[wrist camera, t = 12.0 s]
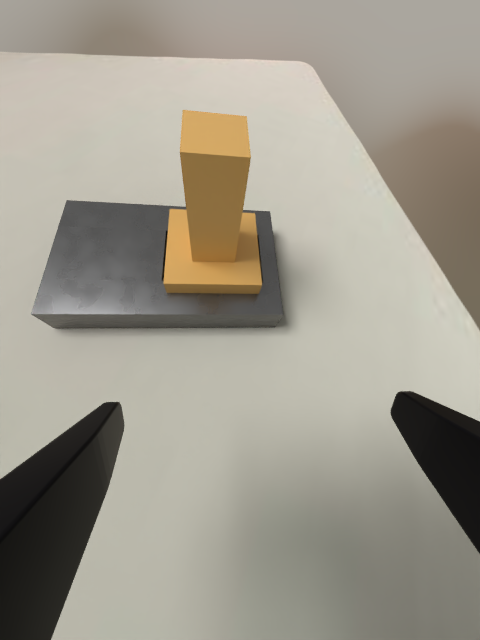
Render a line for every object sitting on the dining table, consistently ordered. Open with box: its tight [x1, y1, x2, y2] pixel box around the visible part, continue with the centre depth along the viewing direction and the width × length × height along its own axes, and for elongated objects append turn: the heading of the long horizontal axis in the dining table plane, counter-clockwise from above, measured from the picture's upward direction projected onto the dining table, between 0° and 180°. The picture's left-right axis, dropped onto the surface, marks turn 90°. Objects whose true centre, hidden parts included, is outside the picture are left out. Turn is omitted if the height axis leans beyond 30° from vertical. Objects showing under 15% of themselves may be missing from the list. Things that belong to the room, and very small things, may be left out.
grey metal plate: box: [31, 200, 283, 328], centre depth 24 cm, size 12×20×3 cm, turn 93°
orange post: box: [163, 110, 262, 294], centre depth 19 cm, size 8×8×13 cm
